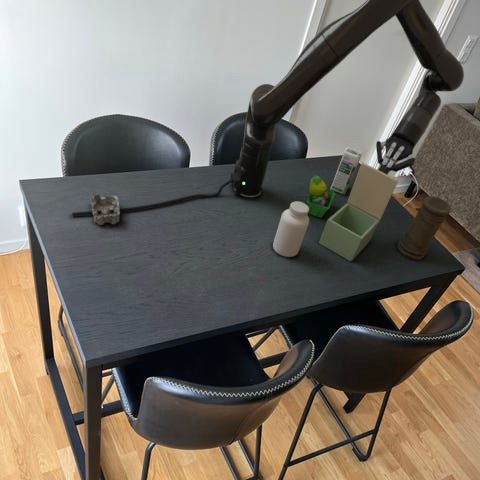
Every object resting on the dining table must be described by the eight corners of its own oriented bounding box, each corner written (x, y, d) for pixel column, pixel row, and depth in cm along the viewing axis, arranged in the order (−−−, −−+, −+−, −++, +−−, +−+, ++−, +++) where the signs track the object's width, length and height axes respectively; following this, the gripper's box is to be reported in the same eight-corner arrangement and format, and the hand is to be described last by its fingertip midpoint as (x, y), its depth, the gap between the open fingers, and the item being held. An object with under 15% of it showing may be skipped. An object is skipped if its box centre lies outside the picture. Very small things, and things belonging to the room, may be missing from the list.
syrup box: (329, 189, 165) (343, 152, 155) (333, 182, 169) (347, 145, 159) (344, 195, 165) (359, 158, 154) (348, 188, 169) (363, 151, 158)
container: (424, 263, 146) (454, 216, 133) (397, 255, 146) (424, 207, 133) (422, 246, 153) (451, 200, 140) (396, 238, 153) (422, 191, 140)
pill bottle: (301, 246, 140) (316, 204, 129) (294, 261, 134) (310, 219, 124) (276, 237, 141) (289, 194, 130) (269, 251, 135) (282, 208, 124)
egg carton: (91, 203, 135) (90, 190, 132) (117, 203, 137) (117, 191, 134) (92, 225, 128) (91, 213, 125) (120, 225, 130) (120, 213, 127)
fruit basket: (324, 221, 151) (335, 192, 143) (298, 212, 152) (308, 182, 144) (330, 204, 159) (342, 175, 151) (306, 195, 160) (316, 166, 151)
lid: (397, 181, 129) (398, 180, 130) (361, 163, 132) (362, 162, 133) (380, 219, 141) (381, 218, 142) (347, 201, 144) (348, 200, 145)
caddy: (350, 261, 140) (362, 238, 133) (318, 242, 143) (327, 219, 136) (368, 242, 148) (380, 220, 142) (337, 225, 151) (347, 202, 145)
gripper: (392, 111, 132) (358, 163, 134) (434, 130, 129) (399, 184, 130) (390, 124, 140) (358, 173, 141) (430, 143, 136) (397, 193, 137)
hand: (378, 178), depth 135 cm, fingers closed
